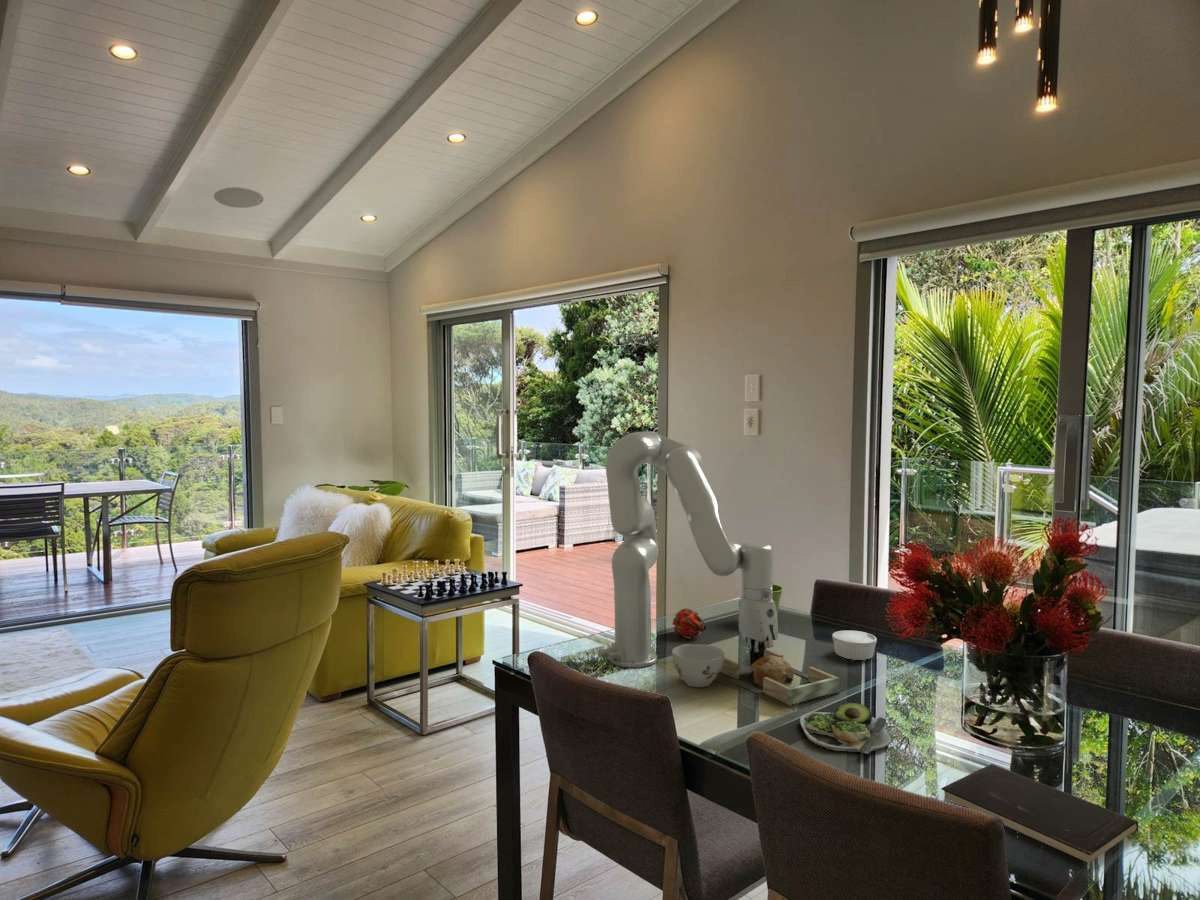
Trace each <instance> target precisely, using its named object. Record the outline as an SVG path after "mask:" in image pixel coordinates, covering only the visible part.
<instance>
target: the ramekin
mask: <svg viewBox="0 0 1200 900" xmlns="http://www.w3.org/2000/svg"><path fill="white" fill-rule="evenodd" d="M831 637H832V638H831V639H832V640H833V646H834V652H835V653H836V655H837V656H838V655H839V656H841V657H844V658H847V659H853V660H852V661H854V660H864V661H867V660H866V659H869V660H870V658H871V659H872V658H873V657H874V654H875V649H876V644H877V642H878V639H877V637H876V636H875V635H874V634H871V633H868V632H865V631H861V630H860V631H859V630H851V629H850V630H838V631H835V632H833V633H832V635H831ZM839 656H838V657H839ZM841 657H840V658H841ZM844 658H843V659H844ZM847 659H846V660H847Z"/></svg>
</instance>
